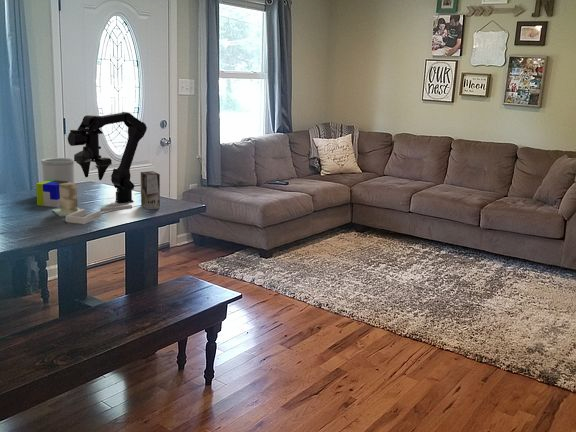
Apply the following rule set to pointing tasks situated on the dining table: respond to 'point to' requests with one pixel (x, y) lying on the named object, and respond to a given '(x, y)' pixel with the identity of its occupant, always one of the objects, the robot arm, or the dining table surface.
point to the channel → (78, 218)
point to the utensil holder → (58, 169)
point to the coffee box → (150, 190)
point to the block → (68, 197)
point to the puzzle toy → (49, 193)
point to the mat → (61, 213)
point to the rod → (116, 207)
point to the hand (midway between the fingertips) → (93, 178)
